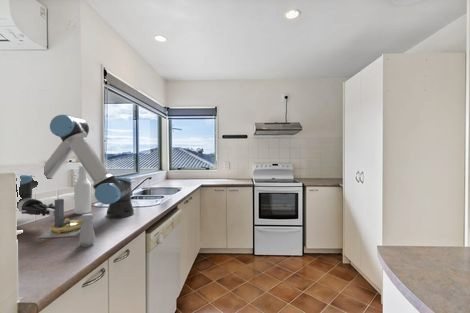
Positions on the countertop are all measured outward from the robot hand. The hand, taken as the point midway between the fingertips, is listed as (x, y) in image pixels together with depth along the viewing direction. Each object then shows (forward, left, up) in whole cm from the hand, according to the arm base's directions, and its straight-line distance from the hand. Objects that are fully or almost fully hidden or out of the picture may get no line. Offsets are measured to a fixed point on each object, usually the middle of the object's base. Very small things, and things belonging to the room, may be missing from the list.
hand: (54, 213), depth 105 cm
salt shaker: (-19, +16, -10) cm, 27 cm away
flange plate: (-3, -5, -10) cm, 11 cm away
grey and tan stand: (-3, -5, -9) cm, 10 cm away
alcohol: (+3, -39, -10) cm, 40 cm away
